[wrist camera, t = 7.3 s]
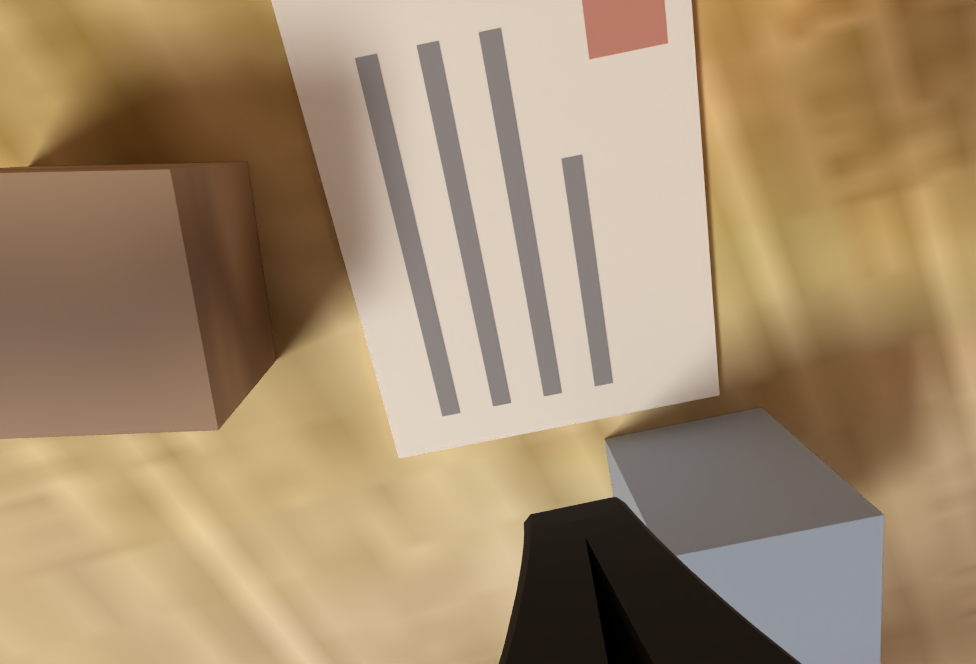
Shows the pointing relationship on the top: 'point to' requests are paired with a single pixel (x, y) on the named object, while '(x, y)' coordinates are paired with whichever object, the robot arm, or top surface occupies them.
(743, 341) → the top surface
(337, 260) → the top surface
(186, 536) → the top surface
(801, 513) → the slate cube
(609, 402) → the letter
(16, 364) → the walnut block
